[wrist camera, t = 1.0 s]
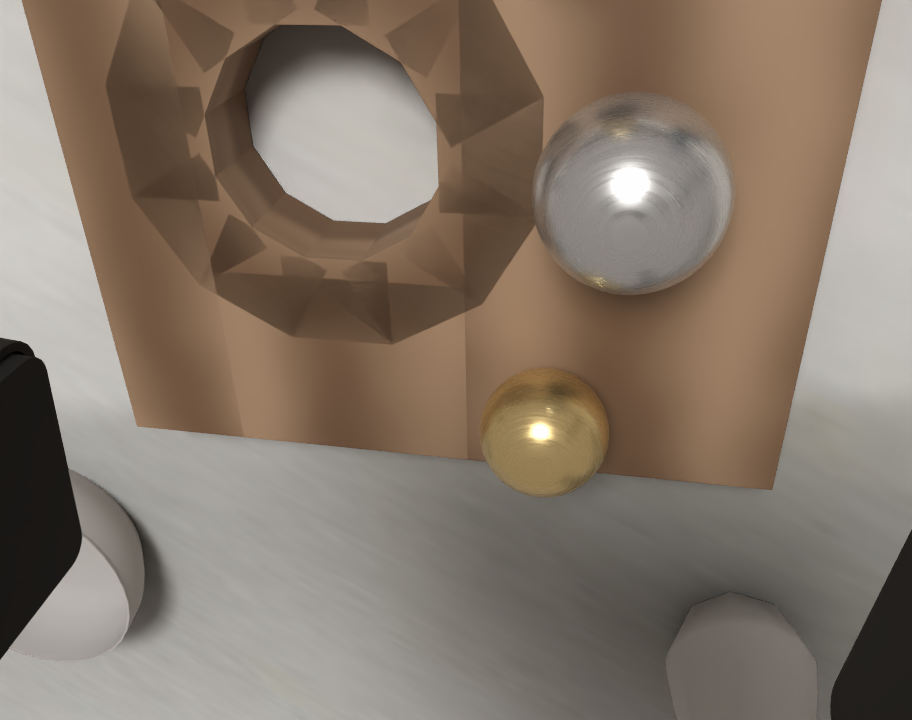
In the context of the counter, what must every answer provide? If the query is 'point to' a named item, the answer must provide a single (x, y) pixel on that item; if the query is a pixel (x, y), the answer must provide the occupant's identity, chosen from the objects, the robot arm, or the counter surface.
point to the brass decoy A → (544, 432)
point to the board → (452, 222)
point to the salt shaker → (740, 664)
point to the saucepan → (91, 585)
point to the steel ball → (633, 193)
